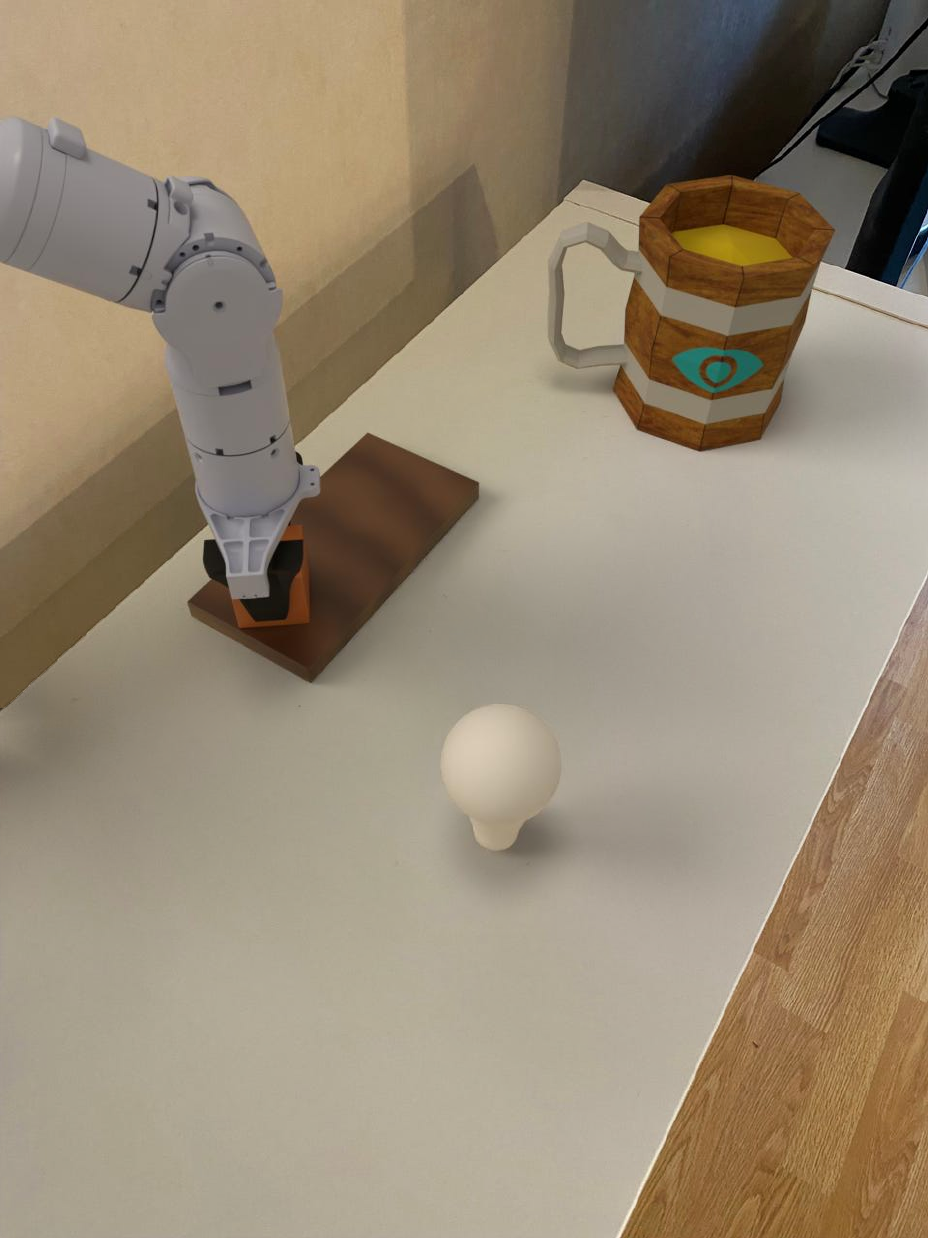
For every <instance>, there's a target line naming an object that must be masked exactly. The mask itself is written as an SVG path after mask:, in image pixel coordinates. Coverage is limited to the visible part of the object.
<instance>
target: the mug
mask: <svg viewBox="0 0 928 1238" xmlns="http://www.w3.org/2000/svg"><path fill="white" fill-rule="evenodd" d="M638 217H639V218H638V250H630V249H627V248H625V247H624V246H623V245H621V243H620V242H619V241H618V240H617V239H616V238H615V236H614V235H613V234H612V233H611V232H610V231H609V230H608V229H606V228H604V227H601V226H599V225H596V224H594V223H591V222H589V221H586V222H583V223H582V222H581V223H580V224H576V225H573V226H570V227H567V228H564V229H562V230H561V232H560V234H559V236H558V238H557V241H556V243H555V245H554V247H553V249H552V251H551V253H550V255H549V258H548V260H547V264H548V265H547V269H548V291H549V292H548V303H547V305H548V306H547V339H548V343H549V345H550V347H551V349H552V351H553V353H554V356H555V358H556V360H557V362H560V363H562V364H564V365H566V366H568V367H571V368H574V369H575V370H578V369H579V370H580V369H589V368H595V367H605V366H607V367H608V366H619V367H618V370H617V374H616V378H615V381H614V384H613V387H612V390H613V392H614V394H615V396H616V397H617V399H618V400H619V402H620V403H621V405H622V408H623V409H624V411H625V412H626V414H627V415H628V417H629V419H630V420H631V422H632V424H633V425H634V427H635V428H636V430H637V431H640V432H642V433H645V434H649V435H651V436H655V437H657V438H660V439H663V440H666V441H669V442H671V443H674V444H677V445H680V446H683V447H685V448H689V449H691V450H695V451H698V452H705V451H710V450H713V449H718V448H723V447H724V448H725V447H729V446H734V445H739V444H743V443H749V442H754V441H760V440H761V439H762V437H763V435H764V434H765V431H766V430H767V428H768V426H769V425H770V423H771V420H772V418H773V417H774V415H775V413H776V412H777V409H778V408H779V406H780V404H781V402H782V396H783V389H784V383H785V377H786V373H787V371H788V368H789V365H790V362H791V359H792V356H793V352H794V350H795V348H796V345H797V343H798V341H799V338H800V336H801V334H802V331H803V329H804V327H805V324H806V320H807V315H808V310H809V305H810V301H811V296H812V291H813V287H814V284H815V281H816V279H817V275H818V273H819V269H820V266H821V263H822V261H823V258H824V256H825V253H826V251H827V250H828V247H829V245H830V243H831V241H832V238H833V236H834V233H835V232H836V228H834V226H832V225H831V223H829V222H828V220H827V219H825V218H824V216H822V215H821V213H819V211H817V210H816V208H815V207H813V206H812V204H811V203H810V202H809V201H808V200H807V199H806V198H805V197H804V196H803V195H802V194H801V193H800V192H797V191H795V190H794V191H793V190H791V189H785V188H782V187H779V186H774V185H771V184H767V183H763V182H759V181H756V180H752V179H748V178H744V177H740V176H738V175H737V176H736V175H733V174H729V175H727V174H726V175H722V176H715V177H706V178H700V179H693V180H687V181H686V180H685V181H681V182H672V183H666V184H665V185H664V187H663V188H662V189H661V190H660V191H659V193H658V194H657V195H656V196H655V197H654V198H653V200H652V201H651V202H650V204H649V205H648V206H647V207H646V208H645V209H644V211H642V213H641V214H640V215H639V216H638ZM584 243H586V244H588V245H590V246H592V247H594V248H596V249H599V250H600V251H601V252H602V253H603V255H604V256H605V257H606V258H607V259H608V260H609V262H610V263H611V264H612V265H613V266H615V267H616V268H617V269H618V270H620V271H622V272H628V273H634V275H633V280H632V282H631V287H630V290H629V294H628V299H627V302H626V305H625V310H624V337H623V343H621V344H609V345H608V344H607V345H596V346H591V347H587V348H582V349H578V348H575V347H574V346H571V345H569V344H566V341H565V339H564V336H563V334H562V332H563V331H562V329H563V317H564V316H563V315H564V303H565V293H566V292H565V283H564V282H565V281H564V272H563V264H564V260H565V256H566V254H567V250H568V248H571V247H575V246H578V245H581V244H584Z"/></svg>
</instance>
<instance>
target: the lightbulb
mask: <svg viewBox="0 0 928 1238" xmlns="http://www.w3.org/2000/svg"><path fill="white" fill-rule="evenodd" d="M440 753H441V754H440V775H441V781H442V783H443V786H444V788H445V790H446V792H447V794H448V797H449V798H450V800H451V801H452V803H453V804H454V805H455V807H456V808H458V809H459V810H460V811H461V812H462V813H463V814H465V815H467V816H468V818H469V821H470V823H471V825H472V829H473V835H474V838H475V840H476V841H477V843H478V844H479V845H480V846H481V847H483V848H485V849H486V850H489V851H492V852H498V851H504V850H507V849H509V848H510V847H511V846H512V845H513V844H515V842H516V841H517V839H518V836H519V833H520V829H521V828H522V827H523V825H524V824H525V821H528V820H530V819H532V818H533V817H535V816H537V815H538V814H539V813H540V812H542V811H543V809H545V808H546V807H547V805H548V804H549V803H550V801H551V800H552V798H553V796H554V795H555V794H556V792H557V789H558V787H559V784H560V781H561V775H562V768H563V765H562V763H563V762H562V755H561V750H560V747H559V743H558V740H557V739H556V737H555V735H554V734H553V732H552V730H551V728H550V727H549V726H548V725H547V723H546V722H545V720H543V719H542V718H540V717H539V716H538V715H537V714H535V713H534V712H532V711H530V710H528V709H526V708H523V707H521V706H517V705H514V704H509V703H493V704H487V705H483V706H481V707H478V708H475V709H473V710H471V711H469V712H468V713H466V714H465V715H463V716H462V717H461V718H460V719H459V720H458V721H457V722H456V723H455V725H453V727H452V728H451V729H450V731H449V732H448V734H447V737H446V738H445V741H444V742H443V745H442V749H441V752H440Z"/></svg>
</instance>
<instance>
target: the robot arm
mask: <svg viewBox="0 0 928 1238" xmlns="http://www.w3.org/2000/svg"><path fill="white" fill-rule="evenodd" d="M0 263H1V264H4V265H6V266H10V267H12V268H15V269H18V270H21V271H23V272H26V273H29V274H31V275H34V276H37V277H40V278H43V279H46V280H48V281H52V282H54V283H57V284H60V285H63V286H66V287H68V288H72V289H74V290H77V291H79V292H83V293H85V294H88V295H90V296H93V297H97V298H99V299H102V300H105V301H108V302H109V303H110V302H111V303H113V304H116V305H119V306H122V307H124V308H129V309H131V310H132V309H133V310H136V311H142V312H145V313H149V314H152V313H153V314H152V315H151V320H152V323H153V325H154V328H155V329H156V331H157V332H158V334H159V335H160V337H161V338H162V339H163V340H164V342H165V347H164V365H165V369H166V371H167V374H168V379H169V383H170V387H171V390H172V394H173V397H174V402H175V405H176V409H177V412H178V417H179V420H180V424H181V428H182V432H183V436H184V440H185V444H186V447H187V451H188V455H189V458H190V462H191V466H192V470H193V474H194V478H195V485H194V489H195V496H196V499H197V502H198V506H199V508H200V509H201V511H202V515H203V517H204V518H205V520H206V523H207V525H208V527H209V529H210V531H211V534H212V536H213V538H212V539H211V538H210V539H204V540H203V548H202V549H203V550H202V564H203V568H204V571H205V572H206V574H207V576H208V578H209V579H210V580H211V579H213V580H215V581H217V582H219V583H221V584H223V585H224V586H226V587H227V588H229V589H230V593H231V597H232V599H239V600H240V602H241V603H242V605H243V606H244V607H245V609H246V610H247V612H248V613H249V615H250V616H251V617H252V618H253V620H254V621H256V622H262V621H276V620H285V619H286V618H287V616H288V612H289V604H290V588H291V584H292V582H293V579H294V578H295V576H296V575H297V574H298V573H299V572H300V569H301V566H302V563H303V539H299V540H285V541H280V539H281V537H282V535H283V533H284V531H285V529H286V527H287V526H290V521H291V518H292V516H293V514H294V512H295V510H296V508H297V506H298V504H299V502H300V501H301V500H302V499H303V498H308V497H315V496H317V495H318V494H319V493H320V477H321V472H320V469H319V467H318V466H317V465H312V464H309V465H308V464H307V465H305V464H304V462H303V456H302V455H301V453H299V452H298V451H296V448H295V441H294V436H293V435H294V434H293V428H292V423H291V416H290V408H289V402H288V396H287V390H286V384H285V383H286V382H285V377H284V370H283V364H282V357H281V352H280V346H279V343H278V342H279V341H278V340H277V337H276V336H275V333H274V329H275V328H276V325H277V324H278V322H279V320H280V318H281V315H282V311H283V306H284V291H283V289H282V288H281V287H278V285H277V281H276V277H275V274H274V272H273V269H272V267H271V265H270V263H269V260H268V258H267V256H266V254H265V251H264V250H263V248H262V246H261V244H260V242H259V240H258V238H257V235H256V233H255V231H254V229H253V227H252V224H251V222H250V220H249V219H248V216H247V215H246V213H245V212H244V210H243V209H242V208H241V206H240V205H239V203H238V202H237V201H236V200H235V199H234V198H233V197H232V196H231V195H230V194H228V193H227V192H226V191H225V190H223V189H222V188H219V187H218V186H216V185H215V184H214V183H213V181H212V180H211V179H209V178H208V177H202V176H197V175H196V176H195V175H194V176H192V175H188V176H186V175H185V176H179V177H176V176H174V175H171V174H168V175H167V176H166V178H165V180H160V179H158V178H156V177H154V176H150V175H149V174H146V173H144V172H142V171H140V170H138V169H135V168H133V167H131V166H130V165H126V164H124V163H122V162H120V161H117V160H115V159H113V158H111V157H109V156H107V155H105V154H102V153H100V152H98V151H96V150H94V149H92V148H88V147H87V143H86V141H85V136H84V134H83V130H81V128H80V127H77V126H75V125H73V124H71V123H69V122H66V121H64V120H62V119H60V118H58V117H55V116H53V117H51V118H50V119H49V122H48V123H47V126H46V128H44V127H42V126H39V125H37V124H35V123H33V122H31V121H28V120H26V119H24V118H22V117H20V116H9V117H4V118H1V119H0Z"/></svg>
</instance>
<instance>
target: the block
mask: <svg viewBox="0 0 928 1238" xmlns="http://www.w3.org/2000/svg"><path fill="white" fill-rule="evenodd" d="M299 539H303V563H302V566H301V569H300V572H299V573H298V574H297V575H296V576H295V578H294V579H293V582H292V584H291V588H290V604H289V612H288V616H287V618H286V619H285V620H276V621H262V622H256V621H254V620H253V618H252V617H251V616H250V615H249V613H248V612H247V610H246V609H245V607H244V606H243V605H242V603H241V602H240V600H239V599H232V597H231V599H232V602H233V606H234V610H235V614H236V618H237V622H238V626H239V628H251V627H264V626H278V625H292V624H306V623H310V591H309V567H308V560H307V554H306V548H305V542H304V535H303V529H302V525H291V526H287V527H286V529H285V531H284V533H283V535H282V537H281V539H280V541H285V540H299ZM229 591H230V589H229ZM230 595H231V593H230Z"/></svg>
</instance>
